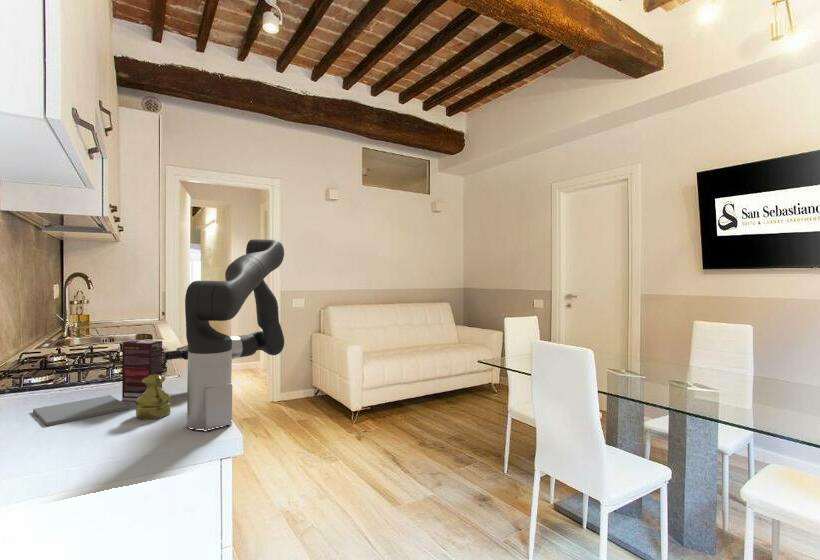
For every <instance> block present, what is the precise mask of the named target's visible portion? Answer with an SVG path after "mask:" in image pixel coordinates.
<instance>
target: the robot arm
mask: <svg viewBox="0 0 820 560" xmlns="http://www.w3.org/2000/svg"><path fill="white" fill-rule="evenodd" d="M284 258H285V248H284V245H283V244H282V243H281V242H280V241H279V240H276V239H268V238H267V239H264V238H263V239H260V238H259V239H258V238H255V239H254V238H253V239H250V240H248V242H247V244H246V249H245V254H243V255H241V256H239V257H237V258H236V259H234V260H233V261H231V263H230V264H229V265H228V266H227V267H226V270H225V273H224V274H225V275H224V278H225V280H195V281H192V282H191V283H190V284H189V285H188V286H187V289H186V290H185V291H186V292H185V296H184V297H185V299H184V311H185V315H184V316H185V333H186V334H185V336H186V342H187V345H184V346H181V347H177V348H176V350H169V351H162V360H164V361H170V360H177V359H179V360H185V361H187V387H186V388H187V393H186V394H187V395H186V396H187V397H186V398H187V401H186V403H187V405H186V406H187V407H186V409H187V411H186V412H187V414H186V415H187V416H186V427H187V426H188V427H190V428H193V429H204V430H208V429H212V428H216V427H221V426H225V427H227V426H226V425H229V426H231V425H232V424H233V384H232V367H233V366H232V360H235V359H239V358H245V357H250V356H253V355H255V354H256V352H257V351H262V352H263V353H265V354H267V355H269V356H278V355H279V354H281V352H283V350H284V347H285V337H284V333H283V329H282V325H281V323H280V321H279V320H280V318H279V313H280V312H279V303H278V300H277V298H276V296H275V295H274V293H273V291H272V290H271V289H270V287H269V285H268V284H267V283H266V281H265V278H266V277H267V276H268V275H269V274H270V273H272V272H273V271H275V270H276V269H278V268H279V267H280V266H281V265H282V263H283V262H284ZM252 292H253V293H254V295H253V296H254V299H255V310H256V319H257V320H256V322H257V325H258V327H259V328H260V329H261V330H258V331H255V332H251V333H250V334H243V335H228V334H225V333H222V332H220V331H217V330H216V329H215V328H213V327H212V326H211V325H210V322H214V321H215V322H224V321H230V320H232V319H234V318H235V317H236V316H237V315H238V313H239V312H240V310H241V308H242V307H243V305H244V303H245V302H246V300H247V299H248V297H249V296H250V295H251V294H252ZM231 420H232V421H231ZM188 427H187V428H188Z"/></svg>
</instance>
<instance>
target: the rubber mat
mask: <svg viewBox="0 0 820 560" xmlns="http://www.w3.org/2000/svg"><path fill="white" fill-rule="evenodd" d="M126 410H129V405H127V404H126V403H124V402H122V401H121V400H119V399H118V398H116V397H114V396H112V395H111V394H109V395H103V396H98V397H92V398H87V399H79V400H77V401H75V400H74V401H70V402H65V403H59V404H53V405H48V406H41V407H37V408H32V412H33V414H34V415H35V416H36V417H37V418H38V419H40V421H41V422H42V423H45V424H46V425H47V426H46V425H45V424H44V425H45V426H46V427H49V426H48V425H50V426H53V425H54V424H55V425H59V423H60V424H65V423H69V422H74V421H78V420H84V419H89V418H93V417H94V418H95V417H97V416H102V415H108V414H112V413H117V412H121V411H126Z"/></svg>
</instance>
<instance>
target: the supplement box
mask: <svg viewBox="0 0 820 560" xmlns="http://www.w3.org/2000/svg"><path fill="white" fill-rule="evenodd" d="M121 347H122V351H121V353H122V355H121V357H122V359H121V361H122V363H121V364H122V365H121V367H122V370H121V371H122V374H121V375H122V379H121V380H122V383H121V384H122V385H121V387H122V388H121V389H122V390H121V395H122V396H121V397H122V398H121V400H122V401H128V402H129V401H130V402H136V399H137V398H138V397H139V396H140V395H142V394H143V393H144V392H145V391H146V390H147V385H146V384H144V383H142V379H143V378H145V377H147V376H149V375H150V374H158V375H162V376H163V340H150V339H149V340H146V339H145V340H144V339H132V340H131V339H130V340H126V341H123V342H122V345H121ZM160 388H161V389H162V390H163V382H162V383H161V385H160Z"/></svg>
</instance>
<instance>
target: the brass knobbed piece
mask: <svg viewBox="0 0 820 560" xmlns="http://www.w3.org/2000/svg"><path fill="white" fill-rule="evenodd" d="M165 381H166V377H165V376H164V375H163V374H162V375H158V374H150V375H149V376H147V377H145V378H143V379H142V383H144V384H146V385H147V390H146V391H145V392H144V393H143V394H142V395H140V396H139V397H138V398H137V399H136V401H135V405H137V406H136V408H135V417H136V418H137V419H138V420H143V419H149V420H156V419H155V418H157V419H161V418H163V416H164V417H166V416H168V415H169V414H171V411H172V410H171V405H172V404H171V403H170V402H171V399H172V396H171V394H170V393H168V392H166V391H165V390H164V389H163V388H162V389H161V388H160V385H161V383H162V384H163V382H165ZM160 417H161V418H160Z"/></svg>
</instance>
